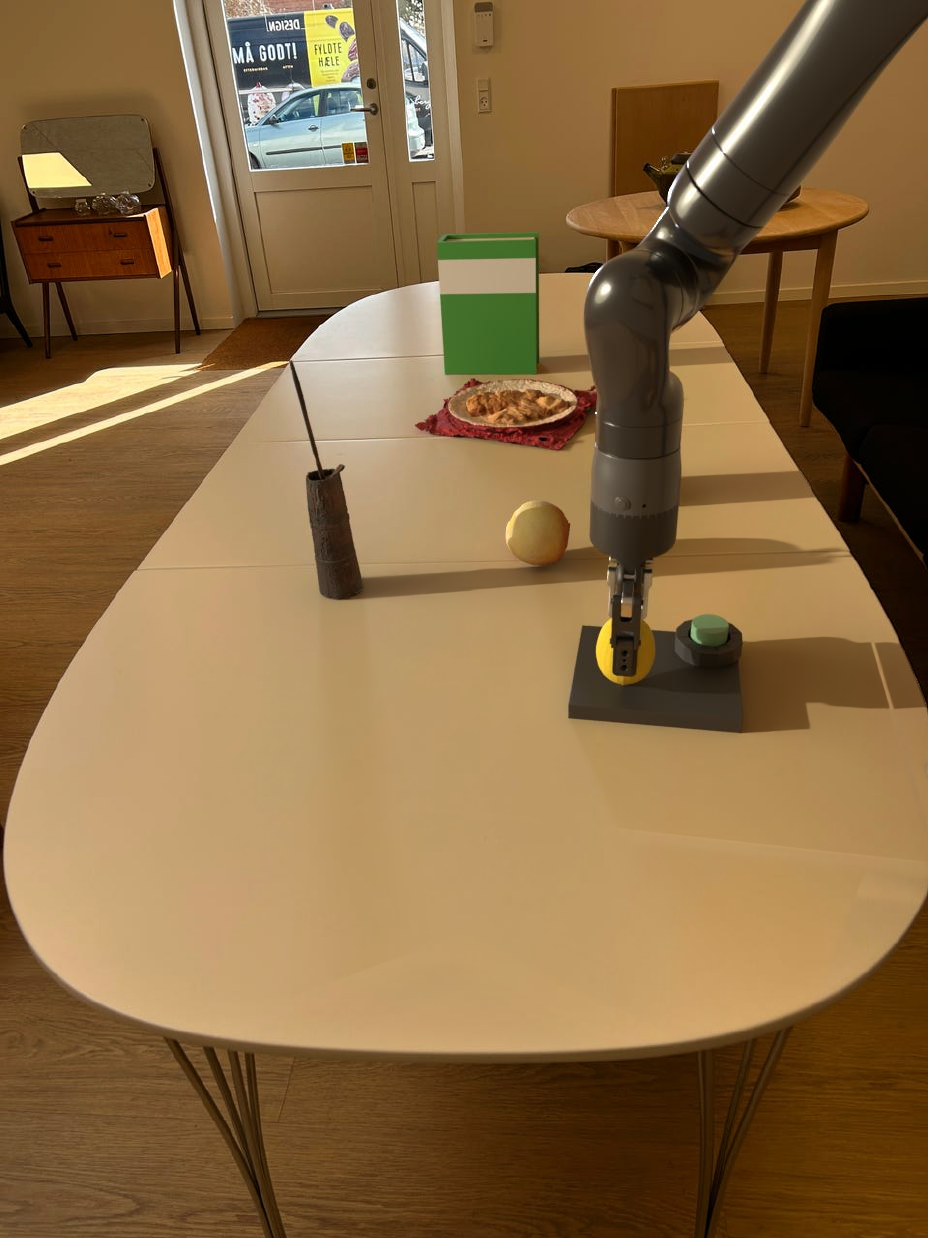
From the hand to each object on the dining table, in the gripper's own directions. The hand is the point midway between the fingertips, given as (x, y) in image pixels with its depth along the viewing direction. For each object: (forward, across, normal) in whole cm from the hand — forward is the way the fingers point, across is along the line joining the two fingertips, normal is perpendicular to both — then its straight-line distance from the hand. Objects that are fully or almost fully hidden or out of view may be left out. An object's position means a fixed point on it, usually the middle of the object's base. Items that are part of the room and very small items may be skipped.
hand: (626, 654), depth 89 cm
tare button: (+2, +7, -8) cm, 11 cm away
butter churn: (+5, +18, +34) cm, 39 cm away
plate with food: (+5, +76, +23) cm, 80 cm away
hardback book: (+5, +102, +31) cm, 107 cm away
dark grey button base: (+5, +3, -3) cm, 7 cm away
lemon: (+4, 0, 0) cm, 4 cm away
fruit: (+5, +26, +12) cm, 29 cm away
